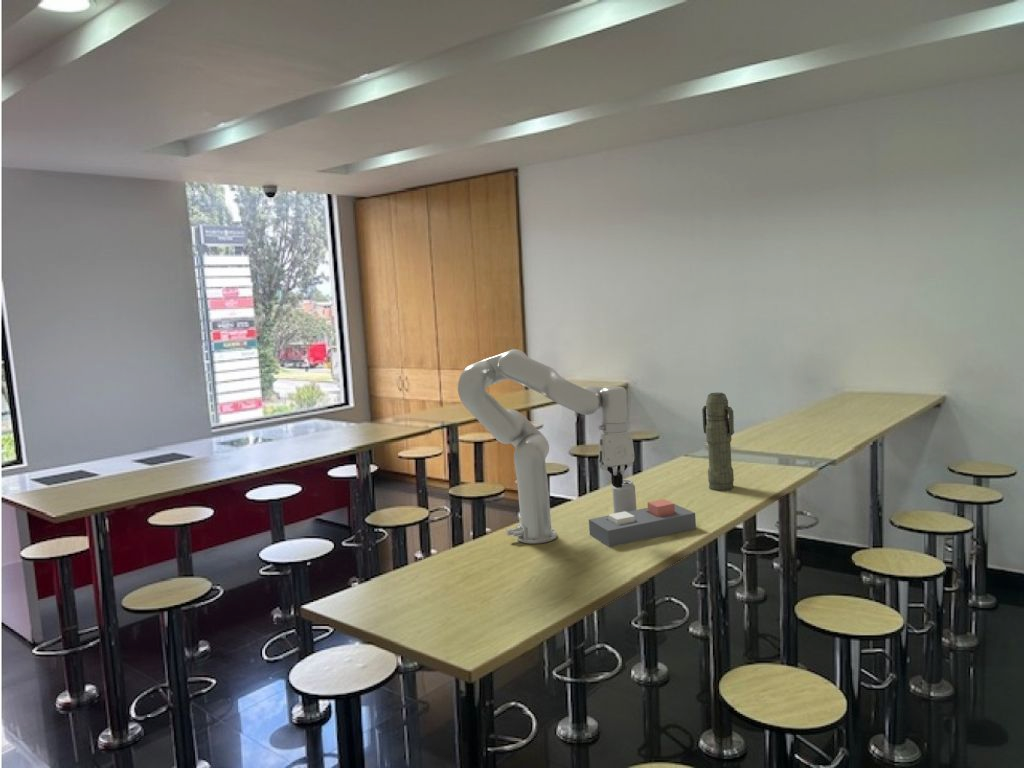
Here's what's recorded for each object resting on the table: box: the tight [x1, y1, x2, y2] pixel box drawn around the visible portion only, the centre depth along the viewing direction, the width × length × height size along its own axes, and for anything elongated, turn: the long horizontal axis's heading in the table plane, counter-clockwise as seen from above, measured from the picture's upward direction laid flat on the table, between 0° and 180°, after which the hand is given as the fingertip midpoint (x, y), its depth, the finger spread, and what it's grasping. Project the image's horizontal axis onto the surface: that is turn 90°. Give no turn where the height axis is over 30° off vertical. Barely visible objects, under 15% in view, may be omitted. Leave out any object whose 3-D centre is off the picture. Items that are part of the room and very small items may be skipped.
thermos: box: [701, 392, 735, 492], centre depth 262 cm, size 9×12×35 cm
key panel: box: [588, 503, 697, 548], centre depth 223 cm, size 30×13×5 cm, turn 109°
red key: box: [647, 498, 675, 517], centre depth 224 cm, size 6×6×4 cm
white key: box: [607, 511, 635, 525], centre depth 220 cm, size 6×6×4 cm
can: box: [611, 479, 638, 514], centre depth 239 cm, size 8×8×12 cm
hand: (617, 486), depth 219 cm, fingers closed
